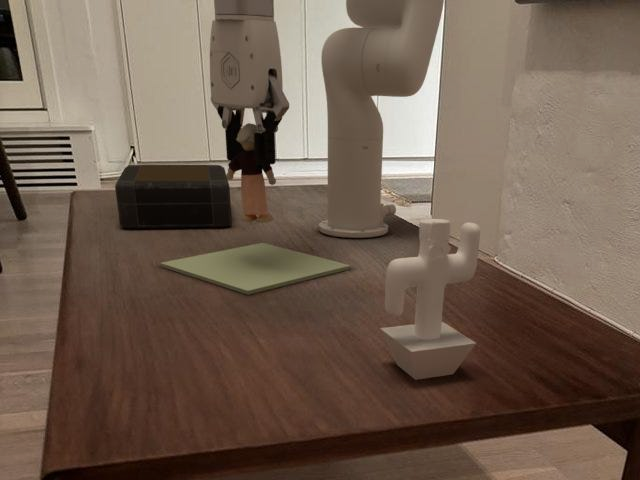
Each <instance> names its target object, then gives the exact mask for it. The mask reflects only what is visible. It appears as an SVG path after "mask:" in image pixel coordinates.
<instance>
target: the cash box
mask: <svg viewBox="0 0 640 480" xmlns="http://www.w3.org/2000/svg"><path fill="white" fill-rule="evenodd" d="M226 175H227V172H226V170H225V167H224V166H222V165H220V164H129V165H127V166H125V167H124V168H123V170H122V171H121V174H120V175H119V177H118V179H117V181H116V182H115V185H114V188H115V196H116V204H117V212H118V218H119V225H120V226H121V227H122V228H124V229H126V230H159V229H160V230H162V229H163V230H164V229H165V230H166V229H171V230H172V229H217V228H218V229H223V228H227V227H229V226H231V225H232V224H233V220H232V204H231V188H230V184H229V180H228V179H227V177H226Z"/></svg>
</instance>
